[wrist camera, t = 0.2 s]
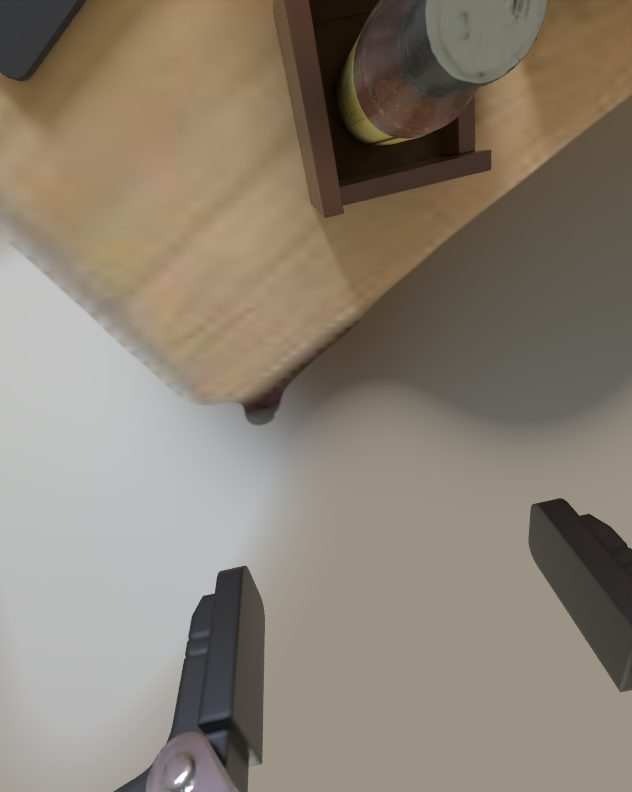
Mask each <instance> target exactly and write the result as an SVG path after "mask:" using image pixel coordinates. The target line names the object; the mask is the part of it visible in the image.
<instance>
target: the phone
mask: <svg viewBox="0 0 632 792" xmlns="http://www.w3.org/2000/svg"><path fill="white" fill-rule="evenodd" d="M85 1H86V0H0V72H1V73H2V74H4V75H5V76H7V77H9V78H11V79H14V80H17V81H25V80H27V79H29V78H30V77H31V76H32V75H33V73H34V72H35V71H36V69H37V68H38V67H39V65H40V64H41V63H42V61H43V60H44V58H45V57H46V56H47V54H48V53H49V51H50V50H51V49H52V47H53V46H54V44H55V43H56V42H57V40H58V39H59V37H60V36H61V35H62V33H63V32H64V31H65V29H66V28H67V26H68V25H69V24H70V22H71V21H72V19H73V18H74V17H75V15H76V14H77V12H78V11H79V10H80V8H81V7H82V5H83V4H84V3H85Z"/></svg>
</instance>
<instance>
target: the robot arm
mask: <svg viewBox="0 0 632 792" xmlns="http://www.w3.org/2000/svg"><path fill="white" fill-rule="evenodd" d="M529 547H530V551H531V554H532V556H533V559H534V561H535V563H536V564H537V566H538V567H539V569H540V570H541V572H542V573H543V575H544V576H545V578H546V580H547V581H548V583H549V584H550V586H551V587H552V589H553V590H554V592H555V593H556V594H557V596H558V598H559V599H560V601H561V602H562V604H563V605H564V607H565V608H566V610H567V611H568V613H569V615H570V616H571V618H572V619H573V621H574V622H575V624H576V625H577V627H578V628H579V630H580V631H581V633H582V634H583V636H584V637H585V639H586V640H587V642H588V643H589V645H590V647H591V648H592V649H593V651H594V653H595V654H596V655H597V657H598V659H599V660H600V662H601V663H602V665H603V666H604V668H605V669H606V671H607V672H608V674H609V675H610V677H611V678H612V680H613V682H614V683H615V685H616V686H617V688H618V689H619V691H620V692H623V691H629V690H632V549H631V548H628V547H627V544H626V543H625V542H624V541H623V540H622V538H621V537H620V536H619V535H618V534H617V533H616V532H615V531H614V530H613V529H612V528H611V527H610V526H608V525H607V524H605V523H603V522H602V521H600V520H599V519H597V518H595V517H594V516H592V515H590V514H586V515H582V516H579V515H578V514H577V513H576V511H575V510H574V509H573V508H572V507H571V506H570V505H569V503H568V502H567V501H565V500H564V499H561V498H559V499H555V500H550V501H546V502H541V503H536V504H533V505H532V506H531V514H530V527H529ZM264 633H265V615H264V607H263V602H262V599H261V596H260V594H259V592H258V589H257V587H256V585H255V583H254V580H253V578H252V576H251V574H250V571H249V569H248V567H247V566H242V567H237V568H232V569H228V570H224V571H220V572H219V573H218V576H217V582H216V589H215V594H211V595H206V596H203V597H202V599H201V600H200V602H199V605H198V606H197V608H196V610H195V612H194V613H193V616H192V620H191V626H190V631H189V636H188V637H189V641H188V642H187V647H186V653H185V655H186V658H185V659H184V665H183V670H182V675H181V681H180V686H179V693H178V697H177V703H176V709H175V714H174V720H173V725H172V729H171V733H170V736H169V738H168V741H167V743H166V745H165V746H164V747H163V748H162V749H161V751H160V752H159V754H158V755H157V757H156V758H155V760H154V762H153V764H152V765H151V766H150V767H149V768H148V769H147V770H146V771H145V772H143V773H142V774H141V775H139V776H138V777H136V778H135V779H133V780H131V781H130V782H128V783H127V784H125V785H124V786H122V787H120V788H119V789H117V790H115V791H114V792H247V790H248V767H249V766H254V765H259V764H262V742H263V690H264V688H263V687H264V684H263V683H264V635H265V634H264Z"/></svg>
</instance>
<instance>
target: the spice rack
mask: <svg viewBox="0 0 632 792" xmlns="http://www.w3.org/2000/svg"><path fill="white" fill-rule="evenodd" d="M379 1H380V0H273V13H274V18H275V23H276V28H277V34H278V39H279V44H280V49H281V54H282V59H283V64H284V69H285V74H286V79H287V84H288V89H289V94H290V99H291V104H292V109H293V114H294V119H295V124H296V129H297V134H298V139H299V144H300V149H301V154H302V159H303V164H304V170H305V175H306V180H307V185H308V190H309V195H310V200H311V204H312V205H313V206H314V207H315V208H316V209H317V210H318V211H319V212H320V213H321V214H322V215H323V216H324V217H325V218H327V217H331V216H335V215H339V214H343V213H344V211H343V205H348V204H352V203H356V202H360V201H364V200H368V199H372V198H376V197H381V196H385V195H389V194H393V193H397V192H401V191H405V190H410V189H414V188H418V187H422V186H426V185H430V184H434V183H438V182H443V181H447V180H451V179H455V178H459V177H463V176H467V175H472V174H476V173H480V172H484V171H488V170H491V150H481V151H475V117H474V96H473V98H472V99H471V101H470V102H469V103H468V104H467V105H466V106H465V107H464V109H463V110H462V112H461V114H460V115H459V116H458V117H457V118H456V119H454V120H453V121H452V122H450V123H449V124H448V125H446V126H444V127H442V128H441V144H442V155H443V156H439V157H435V158H431V159H427V160H423V161H418V162H414V163H410V164H406V165H402V166H398V167H394V168H390V169H386V170H382V171H377V172H373V173H369V174H365V175H361V176H357V177H353V178H349V179H345V180H340V181H339V180H338V174H337V168H336V162H335V156H334V150H333V143H332V137H331V131H330V125H329V119H328V113H327V107H326V101H325V95H324V89H323V83H322V76H321V70H320V64H319V58H318V52H317V46H316V40H315V34H314V28H313V25H314V24H318V23H322V22H326V21H330V20H334V19H338V18H342V17H346V16H350V15H354V14H358V13H362V12H366V11H370V10H373V9H374V8H375V6H376V5H377V4H378V2H379Z"/></svg>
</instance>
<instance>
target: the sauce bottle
mask: <svg viewBox="0 0 632 792" xmlns="http://www.w3.org/2000/svg"><path fill="white" fill-rule="evenodd" d="M547 4H548V0H380V1H379V2H378V4H377V5H376V6H375V8H374V9H373V11H372V12H371V14H370V16H369V17H368V19H367V21H366V23H365V25H364V27H363V29H362V31H361V33H360V35H359V37H358V39H357V41H356V42H355V44H354V46H353V48H352V50H351V52H350V54H349V56H348V58H347V60H346V62H345V64H344V66H343V69H342V71H341V74H340V78H339V82H338V88H337V104H338V109H339V112H340V115H341V119H342V122H343V124H344V127H345V128H346V129H348V130H349V132H350V133H351V134H352V135H353V136H354V137H355V138H357V139H358V140H359V141H361V142H363V143H365V144H368V145H373V146H385V145H390V144H395V143H399V142H403V141H407V140H411V139H415V138H419V137H422V136H425V135H427V134H429V133H431V132H433V131H435V130H438V129H440V128H442V127H444V126H446V125H448V124H449V123H450V122H452V121H453V120H454V119H456V118H457V117H458V116H459V115H460V114H461V112H462V110H463V109H464V107H465V106H466V105H467V104H468V103H469V102H470V101H471V99H472V98H473V96H474V94H475V92H476V91H477V89H478V88H479V87H481V86H486V85H487V84H489V83H492V82H493V81H495V80H498V79H499V78H501V77H503V76H504V75H505V74H507V73H508V72H509V71H511V70H512V69H513V68H514V67H515V66H516V65H517V64H518V63H519V62H520V61H521V60H522V59H523V58H524V57H525V56H526V54H527V53H528V51H529V50H530V48H531V46H532V45H533V43H534V42H535V41H536V38H537V35H538V33H539V30H540V28H541V26H542V24H543V22H544V17H545V12H546V8H547Z"/></svg>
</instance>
